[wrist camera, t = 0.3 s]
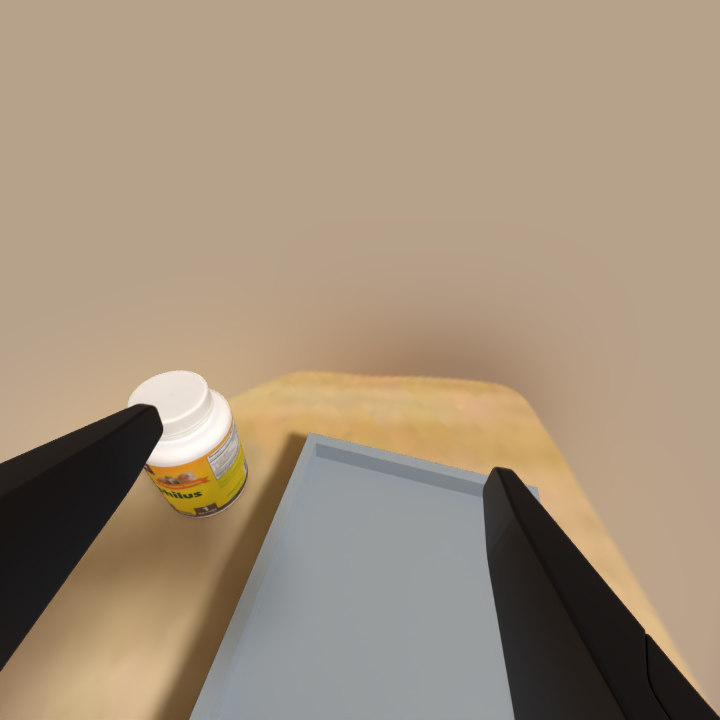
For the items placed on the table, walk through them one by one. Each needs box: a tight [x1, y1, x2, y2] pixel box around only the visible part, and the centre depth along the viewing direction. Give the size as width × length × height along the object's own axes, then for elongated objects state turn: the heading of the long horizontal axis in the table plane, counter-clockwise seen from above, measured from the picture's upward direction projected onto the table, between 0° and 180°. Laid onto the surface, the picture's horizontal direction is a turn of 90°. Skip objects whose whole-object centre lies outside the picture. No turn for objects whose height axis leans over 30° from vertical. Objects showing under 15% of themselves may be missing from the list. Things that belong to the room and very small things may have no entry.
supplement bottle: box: [127, 371, 248, 518], centre depth 21 cm, size 6×6×10 cm
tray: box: [189, 433, 541, 720], centre depth 18 cm, size 18×18×2 cm
